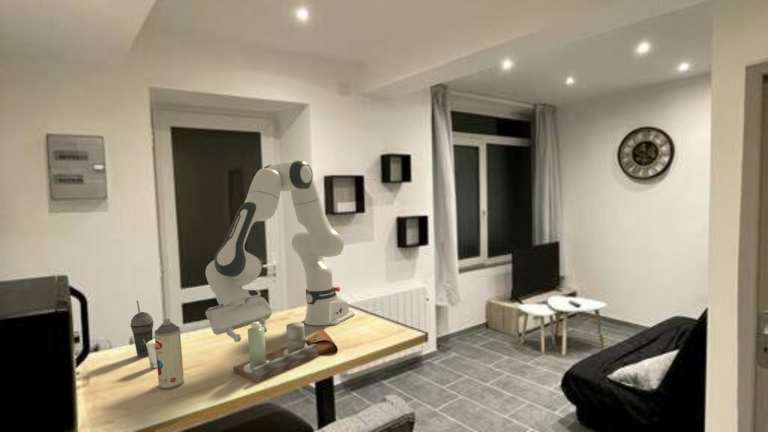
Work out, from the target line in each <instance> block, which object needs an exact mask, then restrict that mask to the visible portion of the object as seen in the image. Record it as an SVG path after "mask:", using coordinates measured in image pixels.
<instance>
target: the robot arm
mask: <svg viewBox="0 0 768 432" xmlns="http://www.w3.org/2000/svg"><path fill="white" fill-rule="evenodd" d="M254 175H255V176H254V177H253V179H252V182H251V184H250V186H249V189H248V191H247V192H248V193H247V195H246V199H245V201H244V202H243V203H242V204H241V205H240V206H239V208H238V209H237V211H236V213H235V216H234V218H233V220H232V222H231V225H230V227H229V230H228V232H227V234H226V237H225V239H224V242H223V243H222V244H221V246H220V247H219V249H218V250H217V252H216V254H215V257H214V260H212V261H210V263H208V264H207V266H206V267H205V277H206V279H207V283H208V285H209V287H210V289H211V292H212V293H214V295H215V297H216V301H217V304H218V305H216V306H211V307H208V309H207V310H205V316H206V318H207V320H208V321H209V324H210V329H211V331H212V333H213V334H214V335H216V336H218V335H222V334H225V333H226V335H227V336H229V337H230V338H232V339H233V341H234V343H238V342H240V341H241V340H242V337H241V335H240V333H238V334H237V333H236V332H234V330H237V329H241V328H245V327H248V326H250V325H251V326H252V323H253V322H260V325H261V327H264V332H265V333H267V331H268V328H267V327H266V323H267V321H268V319H270V318H271V316H272V314H273V310H272V307H271V306H270V304H269V303H268V301H267V300H266V298H264V297H263V296H261V295H262V293H261V291H260V290H258V289H247V288H243V287H244V286H246V285H248V284H251V283H252V282H254V281H256V280H257V279H259V276H260V275H261V273H262V269H263V266H262V261H261V259H260V258H258V257H257V256H256V255H254V254H252V253H250V252H248V251H246V250H245V244H246V241H247V239H248V236H249V233H250V231H251V229H252V227H253V225H254V224H255V223H256V222H265V221H267V220H269V219H271V218H273V217H274V215H275V213H276V211H277V208H278V205H279V201H280V197H281V192H286V191H287V192H288V191H290V195H291V200H292V205H293V208H294V212H295V215H296V216H295V217H296V219H297V221H298V223H299V224H300V225H302V226H303V227H304V228H305V230H301V231H297V232H296V233H294V235H293V237H292V239H291V246H292V250H293V251H294V252H295V253H296V254H297V255H298V257H299V258H300V260H301V262H302V265H303V268H304V273H305V285H306V289H305V299H306V312H305V318H304V324H306V325H308V326H309V325H310V326H316V327H317V326H318V327H319V326H330V325H331V326H332V325H333V326H335V325H338V324H340V323H342V322H343V321H345V320H347V319H350V318H351V317H353V316H355V312H354V311H353V310H350V307H349V303H348V301H347V300H345V299H344V298H342V297H341V296H339V295H338V294H337V293H336V292H340V291H341V287H340V286H333V270H332V268H331V267H330V266H329V265H328V263H326V261H325V259H324V258H332V257H337V256H339V255H340V254H341V253H342V252H343V250H344V244H345V243H344V242H345V241H344V239H343V236H342V235H341V234H340V233H338V232H337V231H336V230H335V229H334V228H333V227H332V225H331V224H330V222H329V221H328V219H327V217H326V215H325V213H324V210H323V206H322V201H321V198H320V193H319V191H318V187H317V185H316V182H315V181H314V177H313V176H314V175H313V170H312V168H311V166H310V165H309V163H307V162H306V161H302V160H294V161H283V162H278V163H275V164H267V165H266V166H264V167H263V168H260V169H259V170H258V171H257V172H256V173H255V174H254ZM266 320H267V321H266Z"/></svg>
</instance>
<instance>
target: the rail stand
mask: <svg viewBox="0 0 768 432" xmlns="http://www.w3.org/2000/svg"><path fill="white" fill-rule="evenodd" d="M285 330H286V345H287V346H285V347H282V348H279V349H277V350H274V351H272V352H269V353H266V363H265V364H262V365H260V366H257V367H255V368H252V369H251V368H250V360H248V361H246V362H242V363H240V364H238V365H235V366H233V368H232V369H233V373H236V374H237V375H240V376H242V377H244V378H246V379H247V380H250V381H252V382H254V383H259V382H262V381H264V380H266V379H269V378H271V377H274V376H276V375H277V374H280V373H283V372H285V371H287V370H290V369H291V368H294V367H296V366H298V365H299V366H300V365H301V364H303V363H306V362H308V361H310V360H312V359H315V358H317V357H319V356H318V349H317V344H312V345H310V346H309V345H307V346H306V341H305V340H306V337H305V336H306V335H305V334H306V333H305V332H306V331H305V322H304V323H303V322H300V321H299V322H290V323H288V324H286V328H285Z"/></svg>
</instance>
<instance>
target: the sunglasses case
mask: <svg viewBox="0 0 768 432" xmlns="http://www.w3.org/2000/svg"><path fill="white" fill-rule="evenodd" d="M305 343H306V344H308V345H307V346H310V345H312V344H317V349H318V357H320V356H321V357H322V356H325V355H326V356H327V355H332V354H337V353H338V351H339V349H338V346H337V345H336V343H335V342H334V340H333V339H332V338H331V337H330V335H329V334H328V333H327V331H325V330H324V328H320V330H319V331H318V332H316V333H315V334H313V335H311V336H310V337H308V338H307V339H305Z"/></svg>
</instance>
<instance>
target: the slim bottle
mask: <svg viewBox="0 0 768 432" xmlns="http://www.w3.org/2000/svg"><path fill="white" fill-rule="evenodd" d="M265 335H266V332H264V327H262V325H261V324H260V322H253V323H252V324H251V327H250V328H247V340H248V356H249V361H250V368H251V369H252V368H255V367H257V366H260V365H262V364H265V363H266V354H267V351H266V349H267V348H266V337H265Z"/></svg>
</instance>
